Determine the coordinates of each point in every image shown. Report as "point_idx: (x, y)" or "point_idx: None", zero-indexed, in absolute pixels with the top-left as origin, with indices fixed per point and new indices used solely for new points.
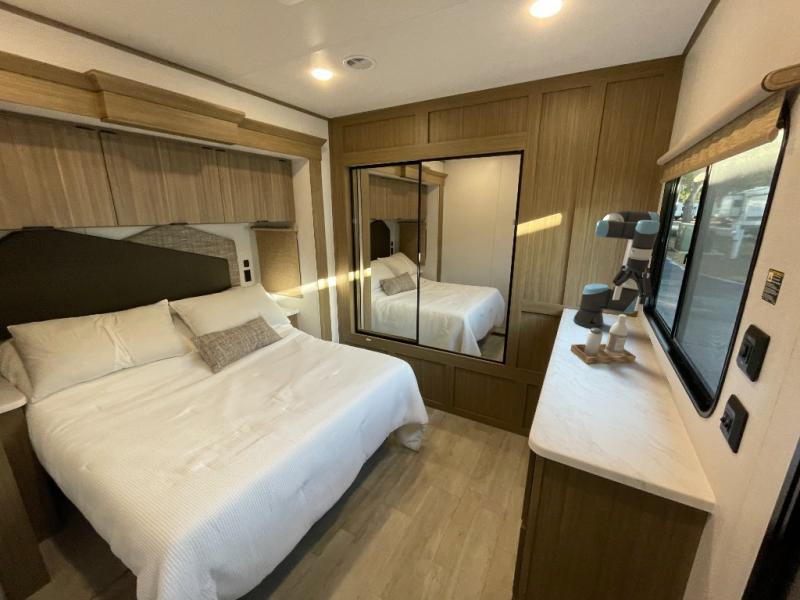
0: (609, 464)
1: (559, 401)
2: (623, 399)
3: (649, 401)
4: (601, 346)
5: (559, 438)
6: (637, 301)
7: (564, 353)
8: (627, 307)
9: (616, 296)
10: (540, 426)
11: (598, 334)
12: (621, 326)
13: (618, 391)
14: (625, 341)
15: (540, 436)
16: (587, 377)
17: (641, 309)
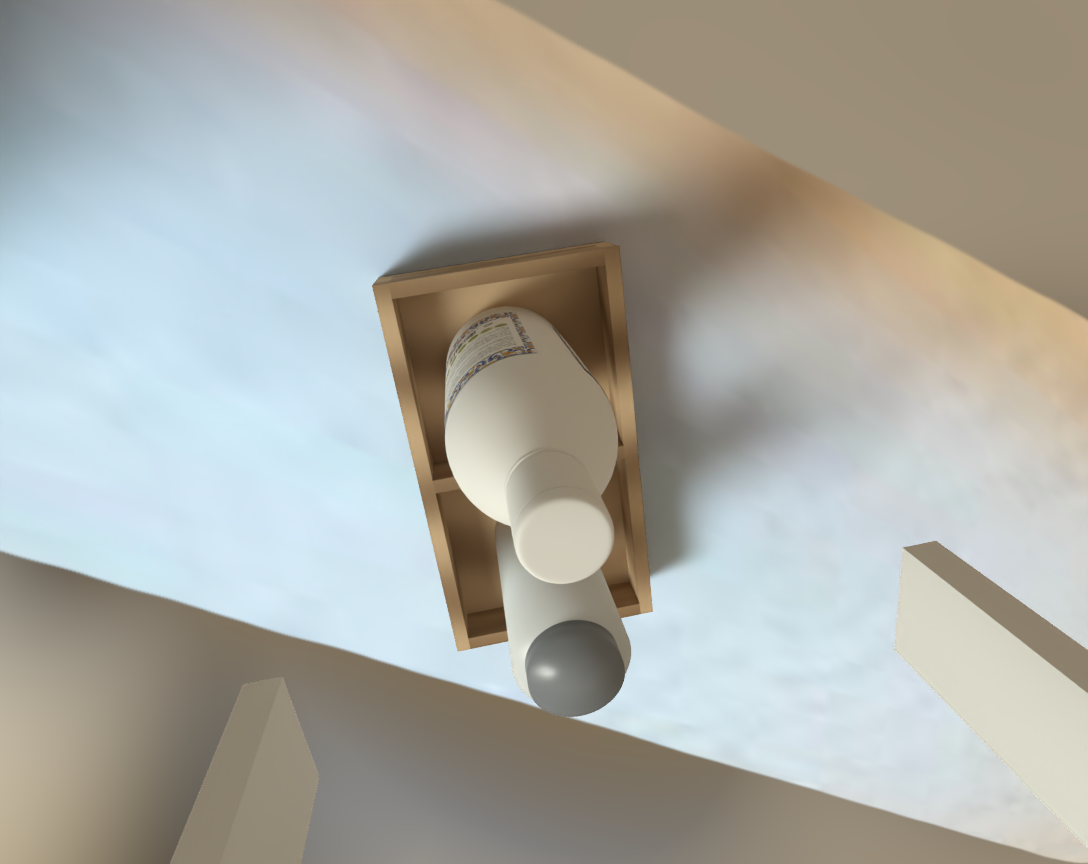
0: None
1: (939, 777)
2: (972, 527)
3: (1010, 407)
4: (422, 424)
5: None
6: (1081, 816)
7: (505, 662)
8: None
9: (289, 815)
10: (1046, 850)
11: (622, 655)
12: (598, 489)
13: (911, 520)
14: (570, 350)
15: (1084, 855)
16: (778, 621)
17: (958, 567)
